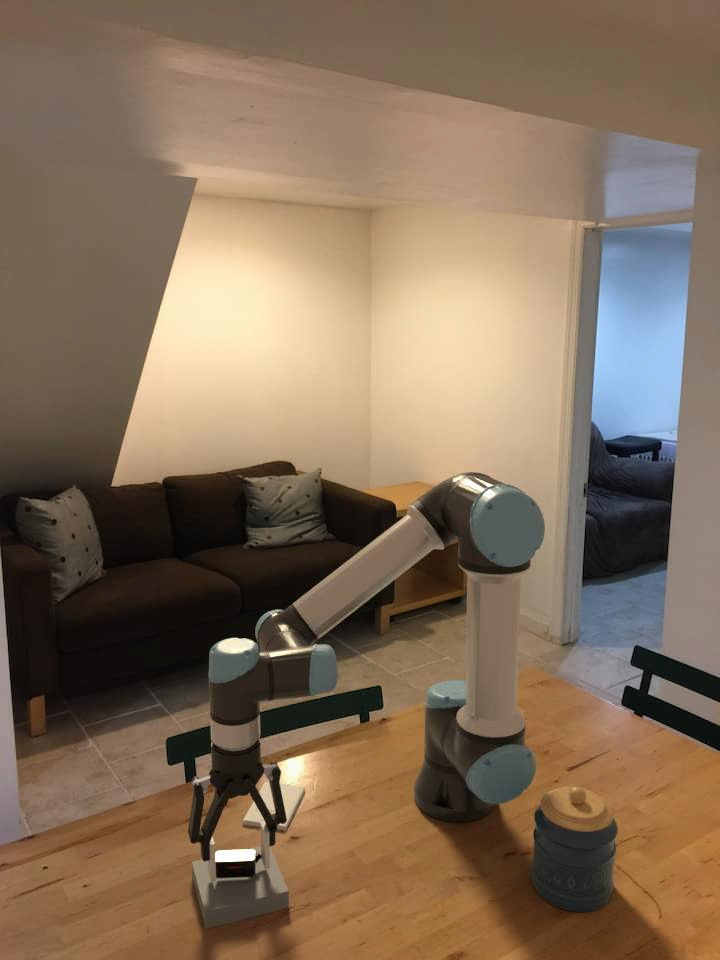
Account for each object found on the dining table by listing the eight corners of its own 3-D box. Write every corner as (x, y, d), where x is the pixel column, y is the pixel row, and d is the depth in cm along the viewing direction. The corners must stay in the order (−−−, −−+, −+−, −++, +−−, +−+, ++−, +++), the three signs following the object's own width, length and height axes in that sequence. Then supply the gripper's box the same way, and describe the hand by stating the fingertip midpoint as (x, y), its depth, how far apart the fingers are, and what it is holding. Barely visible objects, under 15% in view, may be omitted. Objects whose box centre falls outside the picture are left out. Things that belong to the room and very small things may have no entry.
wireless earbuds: (260, 878, 129) (260, 860, 128) (214, 880, 128) (213, 862, 128) (261, 858, 133) (261, 841, 133) (217, 860, 133) (216, 842, 132)
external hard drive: (304, 794, 159) (285, 833, 147) (264, 788, 161) (242, 827, 149) (304, 786, 159) (285, 825, 147) (264, 781, 160) (242, 819, 148)
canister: (599, 926, 125) (607, 823, 121) (518, 894, 132) (524, 795, 128) (621, 877, 136) (630, 781, 132) (546, 849, 142) (552, 757, 139)
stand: (269, 859, 139) (269, 844, 139) (288, 907, 128) (288, 890, 128) (192, 877, 135) (191, 861, 134) (205, 929, 124) (205, 911, 123)
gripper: (293, 716, 133) (295, 840, 138) (163, 739, 126) (169, 869, 130) (307, 738, 126) (308, 869, 131) (170, 764, 119) (176, 901, 123)
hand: (239, 869), depth 131 cm, fingers closed on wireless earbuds, 8 cm apart
